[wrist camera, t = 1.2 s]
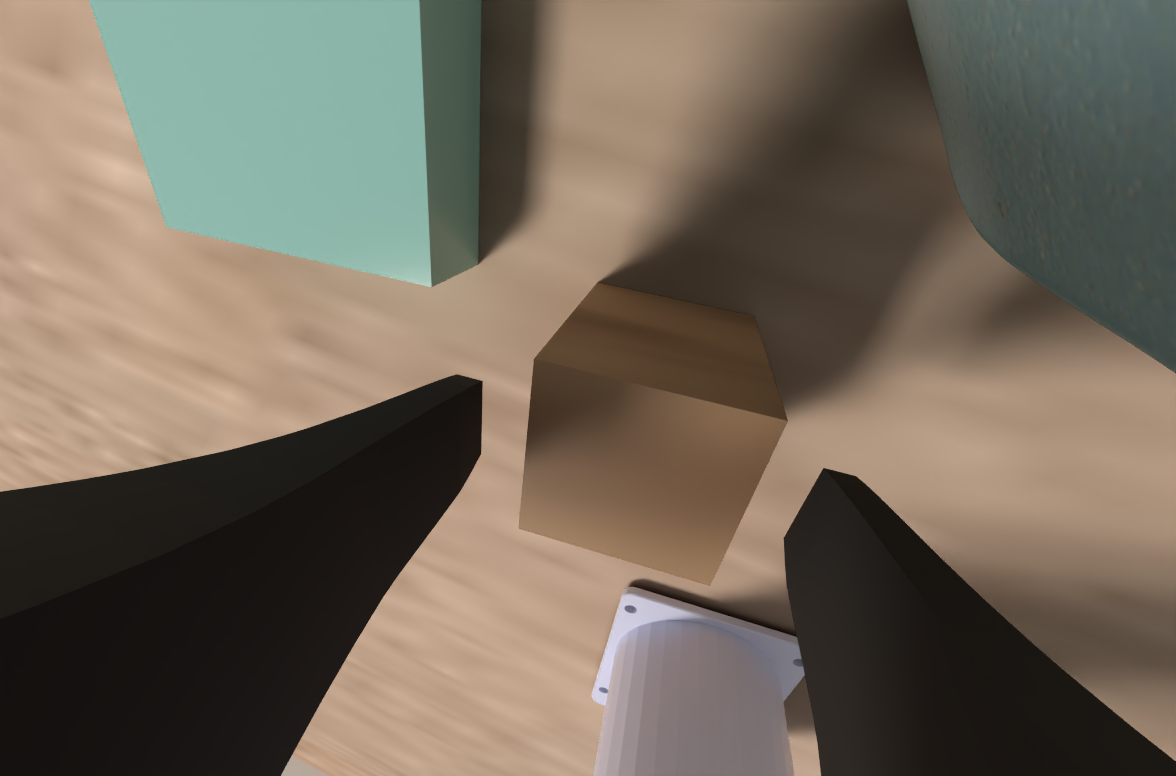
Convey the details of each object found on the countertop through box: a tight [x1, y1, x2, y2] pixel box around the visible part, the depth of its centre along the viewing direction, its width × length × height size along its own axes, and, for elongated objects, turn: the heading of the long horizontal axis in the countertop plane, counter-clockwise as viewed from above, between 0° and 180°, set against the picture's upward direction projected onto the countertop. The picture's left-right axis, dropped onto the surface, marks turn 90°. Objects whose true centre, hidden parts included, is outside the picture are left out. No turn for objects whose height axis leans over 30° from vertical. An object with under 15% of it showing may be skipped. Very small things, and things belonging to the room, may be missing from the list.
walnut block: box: [519, 283, 788, 586], centre depth 11 cm, size 4×4×6 cm
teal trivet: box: [89, 0, 481, 287], centre depth 10 cm, size 8×8×3 cm
